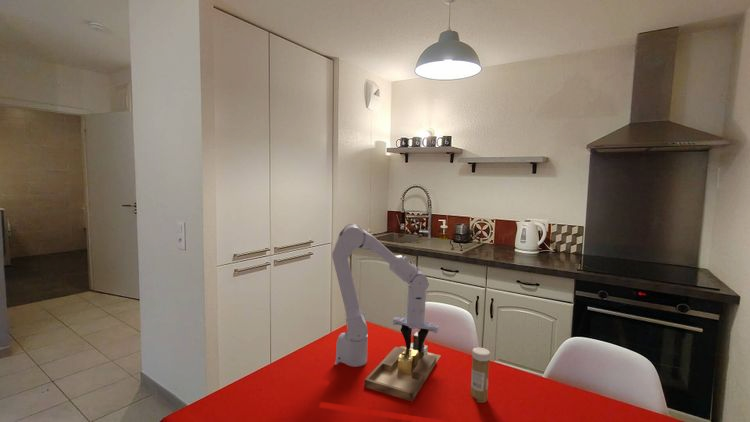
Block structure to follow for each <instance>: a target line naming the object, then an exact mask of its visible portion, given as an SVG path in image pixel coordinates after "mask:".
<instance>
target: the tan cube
mask: <svg viewBox="0 0 750 422" xmlns="http://www.w3.org/2000/svg"><path fill="white" fill-rule="evenodd" d="M402 355H410V356H413V360H412V368H413V369H414V368H415V367H416V365H417V364H418V356H419V351H417V350H413V349H409V348H406V349H405V351H404V352H403V353H402Z"/></svg>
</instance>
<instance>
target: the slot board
mask: <svg viewBox="0 0 750 422" xmlns="http://www.w3.org/2000/svg"><path fill="white" fill-rule="evenodd" d="M405 349H406V346H404V345H401V346H399V347H398V346H394V348H393V349H392V350H391V351H390V352H389V353H388V354H387V355H386V356H385V357H384V359H382V361H381V362H379V364H378V365H376V367H375V368H374V369H373V370H372V371H371V372H370V373H369V375H367V376H366V378H364V387H365V388H367V389H371V390H374V391H377V392H381V393H383V394H387V395H391V396H393V397H398V398H400V399H402V400H407V401H410V402H413V401H414V400H415V398H416V396H417V395H418V393H419V391H420V390H421V388H422V387H423V385H424V383H425V382H426V381H427V379H428V377H429V375H430V373H431V372H432V371H433V369H434V367H435V366H436V364H437V363H438V360H439V359H440V358H441V356H442V355H440V354H436V353H433V352H428V351H427V354H425V355H424V356H423V358H422V359H418V364H417V365H416V367H415V368H414V369H413V368H412V373H411V375H405V374H398V359H399V355H400V354H401V355H402V353H403V352H404V351H405Z"/></svg>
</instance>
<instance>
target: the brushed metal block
mask: <svg viewBox="0 0 750 422" xmlns="http://www.w3.org/2000/svg"><path fill="white" fill-rule="evenodd" d="M418 332H419V331H415V332H414V334H413V336H412V337H413V342H411V347H410V349H413V350H417V351H418V344H419V340H418ZM428 347H429V346H428V345H426V344H425V342H424V343H423V347H422V351H421V352H419V356H418V359H422V358H423V356H424V355H425V354H427V352H428Z"/></svg>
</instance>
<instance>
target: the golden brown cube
mask: <svg viewBox="0 0 750 422" xmlns="http://www.w3.org/2000/svg"><path fill="white" fill-rule="evenodd" d="M412 360H413V356H410V355H401V354H400V355H399V359H398V374H405V375H411V373H412Z"/></svg>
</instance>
